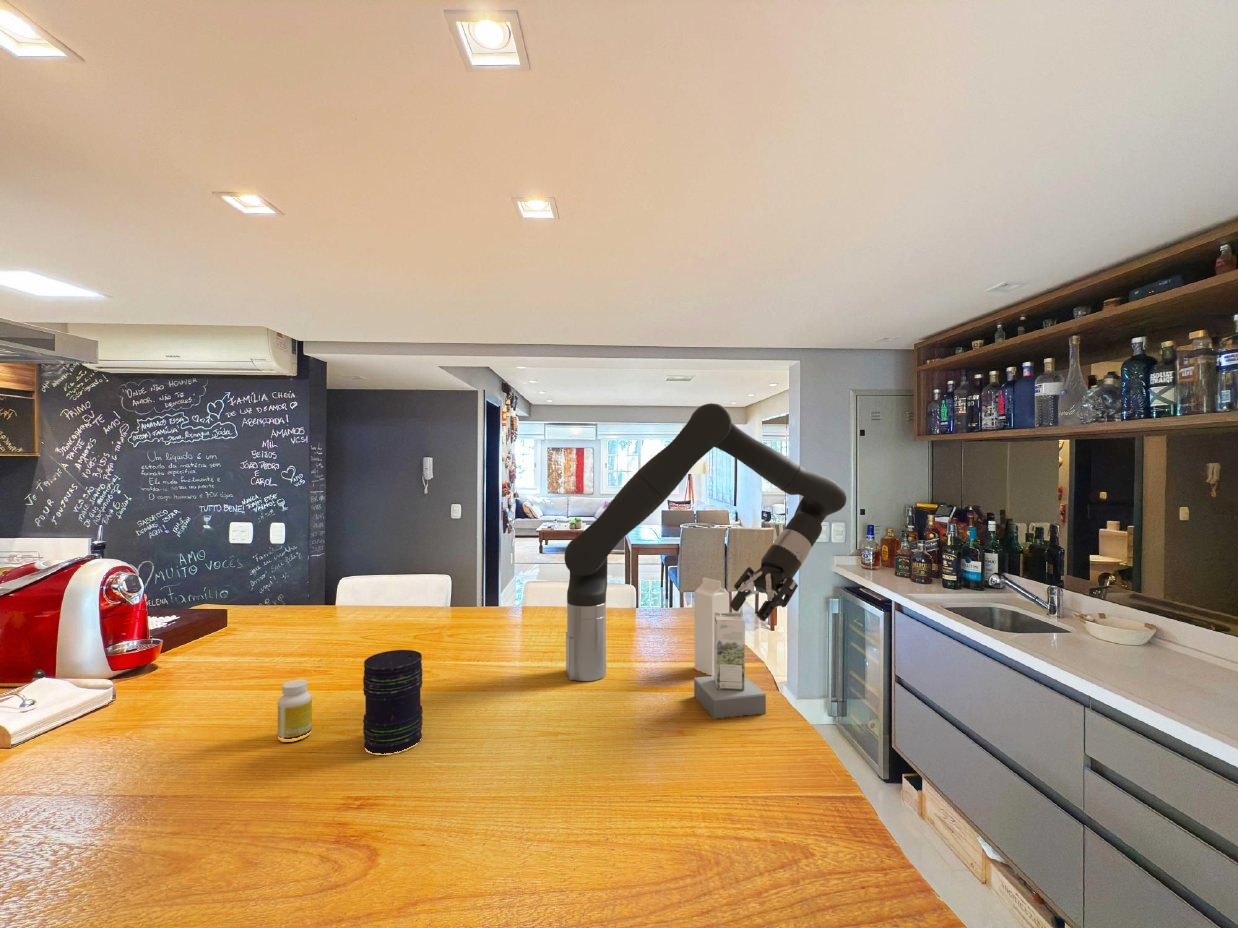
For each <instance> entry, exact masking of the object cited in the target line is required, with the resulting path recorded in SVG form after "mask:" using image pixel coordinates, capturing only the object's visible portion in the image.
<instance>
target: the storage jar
mask: <svg viewBox="0 0 1238 928" xmlns="http://www.w3.org/2000/svg"><path fill="white" fill-rule="evenodd" d="M422 657H423V655H422V653H421V652H420V651H416V650H412V649H394V650H387V651H382V652H380V653H376V654H373V655H370V656H369V657H367V658H366V659H365V660H364V661H363V669H364V670H363V679H362V681H363V689H362V691H363V695H364V696H365V702H364V703H365V713H364V715H363V721H362V723H363V728H362V729H363V733H362V734H363V740H364V742H363V748H364V747H365V748H366V749H367V750H368V751H370V752H372V753H381V754H384V753H385V754H386V753H394V752H397V751H398V752H399V751H402V750H404V749H407V748H409V747H411V746H413V745H415V744H416V743H418V742H419V741H420V739H421V738H422V739H423V734H422V729H423V723H424V722H423V712H424V711H423V710H424V709H423V706H422V705H421V688H422V687H423V667H422V664H423V663H422V660H423V659H422ZM422 739H421V740H422ZM420 742H421V741H420Z"/></svg>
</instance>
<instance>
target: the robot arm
mask: <svg viewBox="0 0 1238 928" xmlns="http://www.w3.org/2000/svg"><path fill="white" fill-rule="evenodd" d="M713 448H716V449H718V450H720V451H722V452H724V453H726V454H728V455H730V456H731V457H733V458H734V459H736V460H738V461H739V462H741V463H742V464H744V465H745V466H746V467H748V468H749V469H750V470H752V471H753V472H754V473H756V474H757V475H759V476H760V477H761V478H763V479H764V480H766V481H767V482H768V483H770V484H771V485H772V486H774V487H776V488H777V489H779V490H780V491H782V492H783V493H785V494H788V495H789V496H790V495H791V496H796V495H797V496H798V495H800V497H801V496H802V498H801V499H800V502H799V503H798V506H797V507H796V510H795V511H794V515H793V516H792V518H791V519H790V520H789V522H788V523H787V524H786V526H785V527H784V528H783V530H782V532H780V533H779V534H778V535H777V537H776V538H775V540H774V541H773V542H772V544H771V545H770V546H769V548H768V549H767V551H766V552H765V554H763V557H762V558H761V560H760V568H758V569H757V570H754V569H753V568H752V567H751V566H748V567H747V568H746V569H745V570H744V572H743V573H742V574H741V576H740V577H739V579H738V580H737V581H736V582H735V584H734V585H733V587H734V588H735V590H736V591H737V592H736V594H735V595H734V597H733V598H732V600H731V602H730V603H729V608H731V609H732V610H733V611H734V612H739V610H740V609H741V607H742V606H743V605H744V604H745V601H746V600H747V599H748V598H749V597H750V596H752V595H758V594H759V593H761V594H766V595H767V597H766V598H767V600H765V601H764V602H763V603H762V605H761V606H760V608H759V609H758V611H757V612H756V617H757V618H758V619H759V620H760V621H762V622H765V621H766V620H767V619H768V618H769V617H770V616H771V614H772V612H773V611H774V610H775V609H777V608H778V607H781V608H786V607H787V605H788V603H789V602H790V600H791V599H792V597H793V595H794V593H795V592H796V590H797V588H798V586H799V585H798V583H797V582H796V580H795V579H794V577H795V576H796V574H797V572H798V571H799V569H800V568H801V567H802V565H803V564H804V562H805V560H806V559H807V558H808V556H809V553H810V551H811V549H812V548H813V546H814V545H815V543H816V541H818V539H819V537H820V536H821V534H822V531H823V526H822V523H823V522H824V521H825V519H826V518H827V517H828V516H830V515H833V514H834V513H838V512H839V511H841V510H842V509H843V508H844V507H845V505H846V503H847V495H846V492H845V490H844V489H843V488H842V487H841V485H839V484H838V483H837V482H835V481H834V480H833V479H831V478H829V477H826V476H824V475H822V474H818V473H816V472H814V471H811V470H808V469H806V468H804V467H802V466H801V465H800V464H798V463H797V462H795V461H793V459H791V458H789V457H787V456H786V455H784V454H783V453H781V452H779V451H777V450H776V449H774V448H772V447H771V446H768V445H766V444H764V443H762V442H761V441H759V440H757V439H755V438H753V437H752V436H751V435H749V434H748V433H746V432H745V431H743V430H741V428H740V427H738V426H737V425H736V424H735V423H734V422H733V421H732V417H731V414H730V412H729V411H728V409H727V408H726V407H725V406H723V405H721V404H718V403H712V402H711V403H706V404H703V405H701V406H698V407H697V408H696V409H695V410H694V412H693V413H692V414H691V415H690V419H689V420H688V421H687V422H686V423H685V425H684V426H683V428H682V429H681V430H680V431H679V433H678V434H677V435H676V436H675V438H674V439H672V441H670V443H669V444H668V445H667V446H665V447H664V448H663V449H662V450H660V451H659V452H658V453H656V454H655V455H654V456H653V457H652V458H650V460H649V459H648V461H646V463H645V464H644V465H643V466H642V467H640V468H639V469H638V470H637V471H636V473H635V474H633V475H632V476H631V478H630V479H628V480H627V482H626V483H625V484H624V486H623V487H622V488H621V489H620V490H619V492H617V493H616V495H615V496H614V498H613V499H612V500H611V501H610V503H609V504H608V505H607V507H605V509H604V511H603V512H602V513H601V514H600V515H599V516H598V518H597V519H596V520H595V521H593V522H592V523H591V524H590V525H589V526H588V527H587V528H585V529H584V530H583V531H582V532H581V533H579V534H577V536H575V537H574V538H573V539H571V541H569V543H568V544H567V546H566V547H565V550H564V563H565V566H566V568H567V570H568V571H569V580H568V581H569V582H568V587H567V590H566V592H567V593H566V616H567V617H566V619H567V620H566V623H567V624H566V626H567V628H566V632H565V672H566V675H568V676H567V678H568V680H569V681H580V682H594V681H598V680H601V679H603V678H604V677H605V676H606V675H607V591H608V590H607V588H608V556H610V554H611V553H612V551H613V550H614V549H615V547H616V546H617V545H618V544H619V543H620V542H621V540H623V539H624V538H625V537H626V536H627V535H628V534H629V533H630V532H632V531H633V530H634V529H635V528H636V527H638V526H639V525H640V524H642V523H643V522H644V521H645V520H646V519H648V518H649V517H650V516H651V515H652V514H653V513H654V512H655V511H656V510H657V509H658V508H659V507H660V506H661V505H662V504H663V503H664V502H665V501H666V500H667V499H668V498H669V496H670V495H671V494H672V493H673V491H674V490H676V488H677V487H678V486H679V485H680V484H681V482H682V481H683V479H685V477H686V475H688V473H689V472H690V471H691V469H692V468H693V467H694V466H695V465H696V464H697V462H698V461H700V460H701V459H702V458H703V457H705V455H706V454H707V453H709V452H710V451H711V450H712V449H713ZM742 584H743V585H742Z"/></svg>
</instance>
